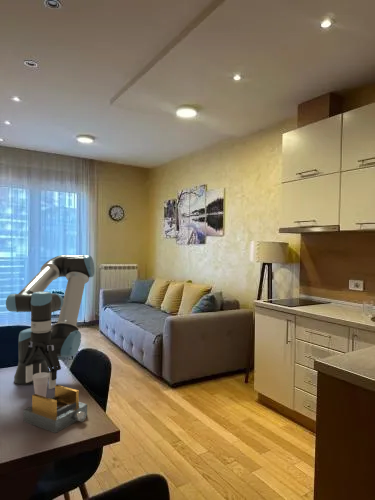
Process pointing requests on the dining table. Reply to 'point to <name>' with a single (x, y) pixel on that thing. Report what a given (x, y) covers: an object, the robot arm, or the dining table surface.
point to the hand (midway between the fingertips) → (40, 384)
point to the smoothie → (40, 382)
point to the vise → (56, 410)
